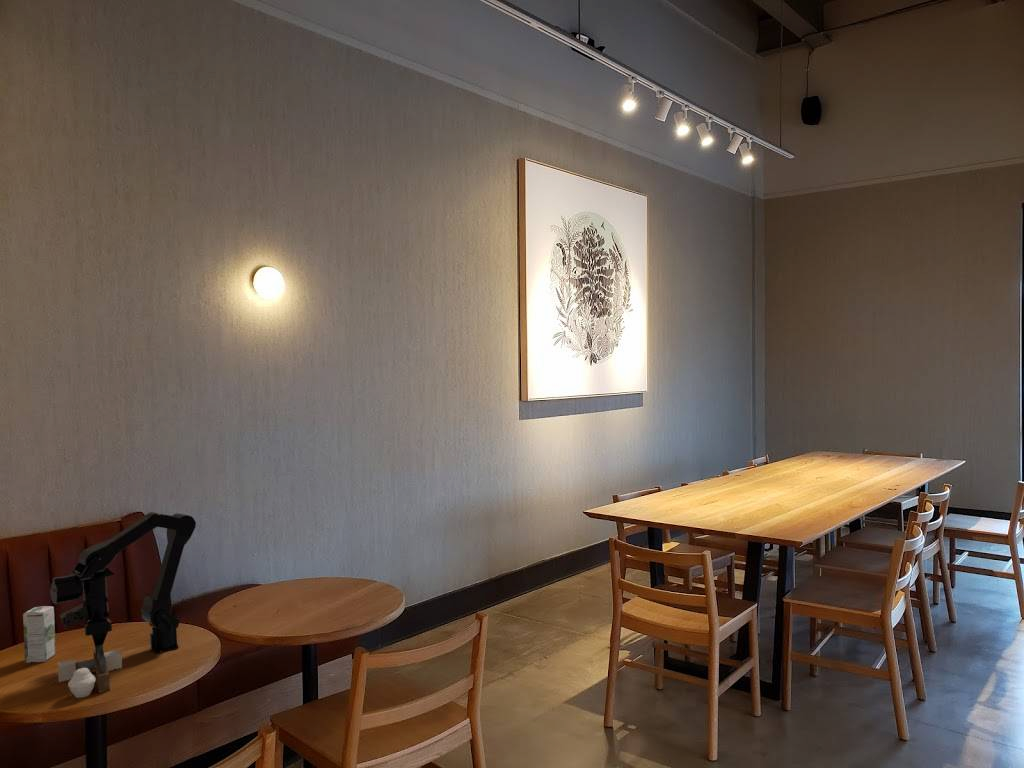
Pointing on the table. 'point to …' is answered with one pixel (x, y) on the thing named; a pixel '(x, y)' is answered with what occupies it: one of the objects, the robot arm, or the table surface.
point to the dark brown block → (102, 675)
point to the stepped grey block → (100, 656)
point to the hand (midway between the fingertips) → (98, 650)
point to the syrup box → (39, 634)
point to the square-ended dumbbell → (88, 665)
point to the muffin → (82, 683)
